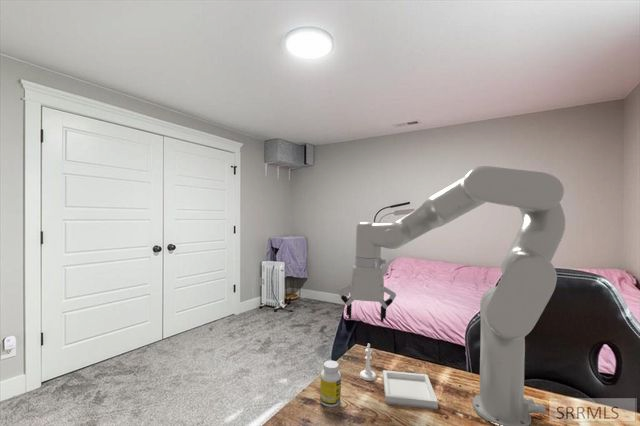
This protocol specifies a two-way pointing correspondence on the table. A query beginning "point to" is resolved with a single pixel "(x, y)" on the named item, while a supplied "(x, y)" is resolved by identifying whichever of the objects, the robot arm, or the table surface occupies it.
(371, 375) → the chess piece
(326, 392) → the supplement bottle
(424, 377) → the tray
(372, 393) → the table surface
